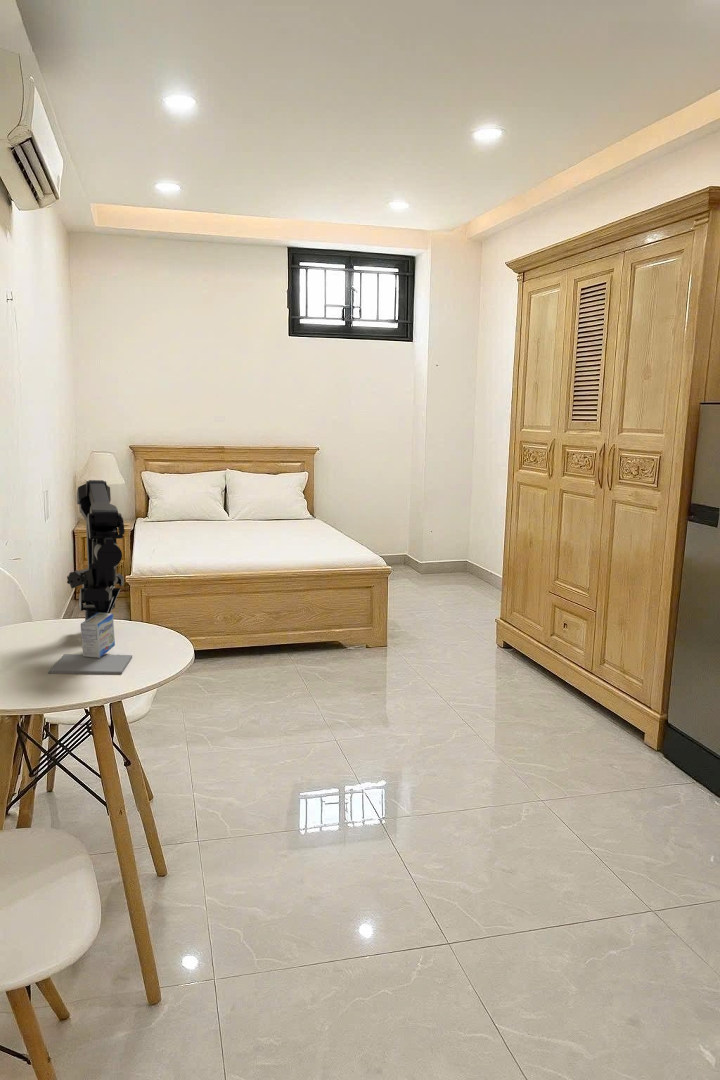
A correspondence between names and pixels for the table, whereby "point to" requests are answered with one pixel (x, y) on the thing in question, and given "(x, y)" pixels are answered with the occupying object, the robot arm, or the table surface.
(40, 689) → the table surface
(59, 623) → the table surface
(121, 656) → the mat
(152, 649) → the table surface
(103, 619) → the medicine box
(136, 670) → the table surface
